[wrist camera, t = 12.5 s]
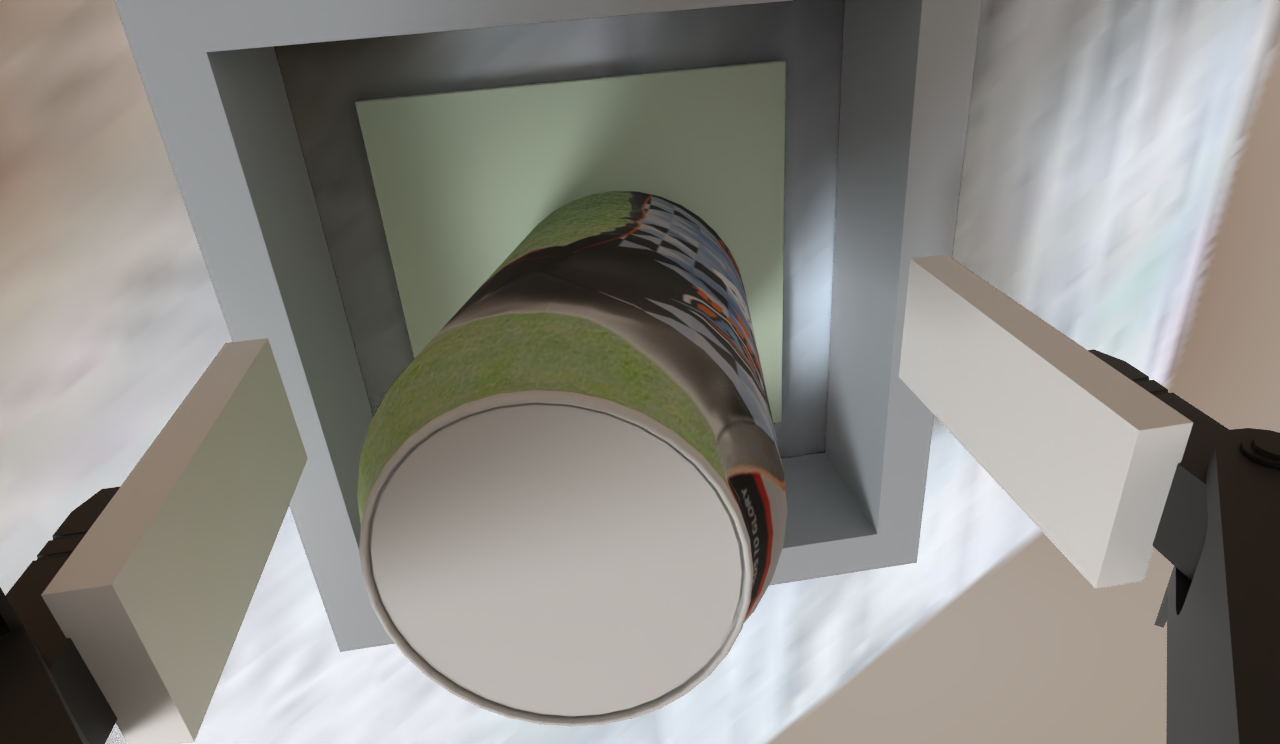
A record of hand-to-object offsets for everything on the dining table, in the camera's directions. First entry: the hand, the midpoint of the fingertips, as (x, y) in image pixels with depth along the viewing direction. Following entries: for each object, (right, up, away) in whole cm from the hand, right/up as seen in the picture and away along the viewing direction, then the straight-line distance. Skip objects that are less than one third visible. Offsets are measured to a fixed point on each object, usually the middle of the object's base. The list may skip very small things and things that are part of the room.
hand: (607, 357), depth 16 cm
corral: (0, +2, +5) cm, 5 cm away
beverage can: (0, +2, +5) cm, 5 cm away
